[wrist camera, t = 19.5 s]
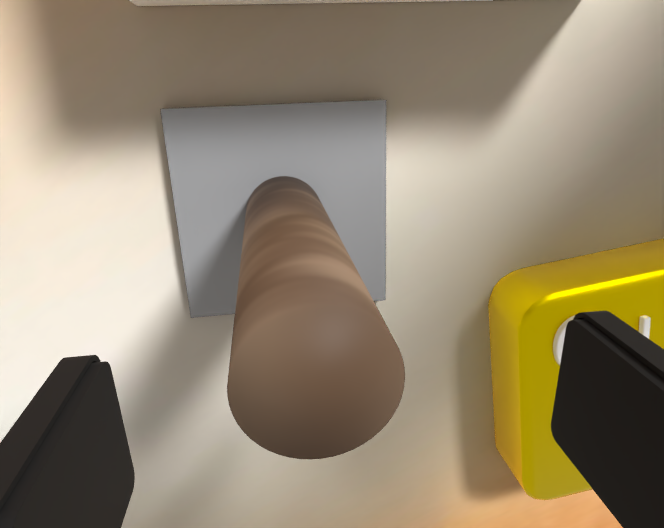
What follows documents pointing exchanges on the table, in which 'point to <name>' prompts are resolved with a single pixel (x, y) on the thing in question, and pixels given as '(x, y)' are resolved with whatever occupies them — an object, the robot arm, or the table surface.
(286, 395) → the dowel
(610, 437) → the robot arm
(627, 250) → the element tile
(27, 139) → the table surface
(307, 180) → the rubber mat
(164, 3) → the box
